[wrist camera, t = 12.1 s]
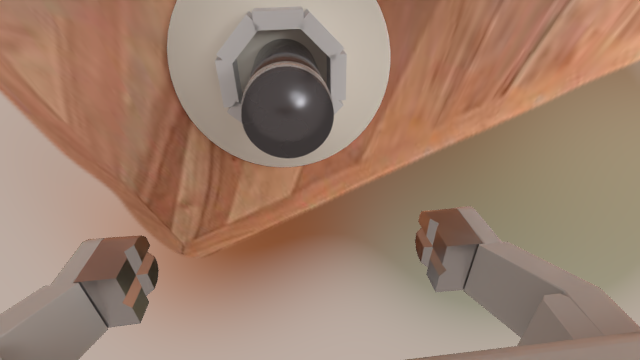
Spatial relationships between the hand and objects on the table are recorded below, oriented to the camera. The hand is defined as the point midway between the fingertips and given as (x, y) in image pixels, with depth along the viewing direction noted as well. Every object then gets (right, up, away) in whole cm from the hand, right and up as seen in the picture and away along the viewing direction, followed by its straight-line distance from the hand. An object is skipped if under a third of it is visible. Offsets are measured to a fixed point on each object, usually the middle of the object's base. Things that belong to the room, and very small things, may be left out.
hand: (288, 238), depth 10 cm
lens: (-2, +11, +17) cm, 20 cm away
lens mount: (-2, +11, +18) cm, 21 cm away
